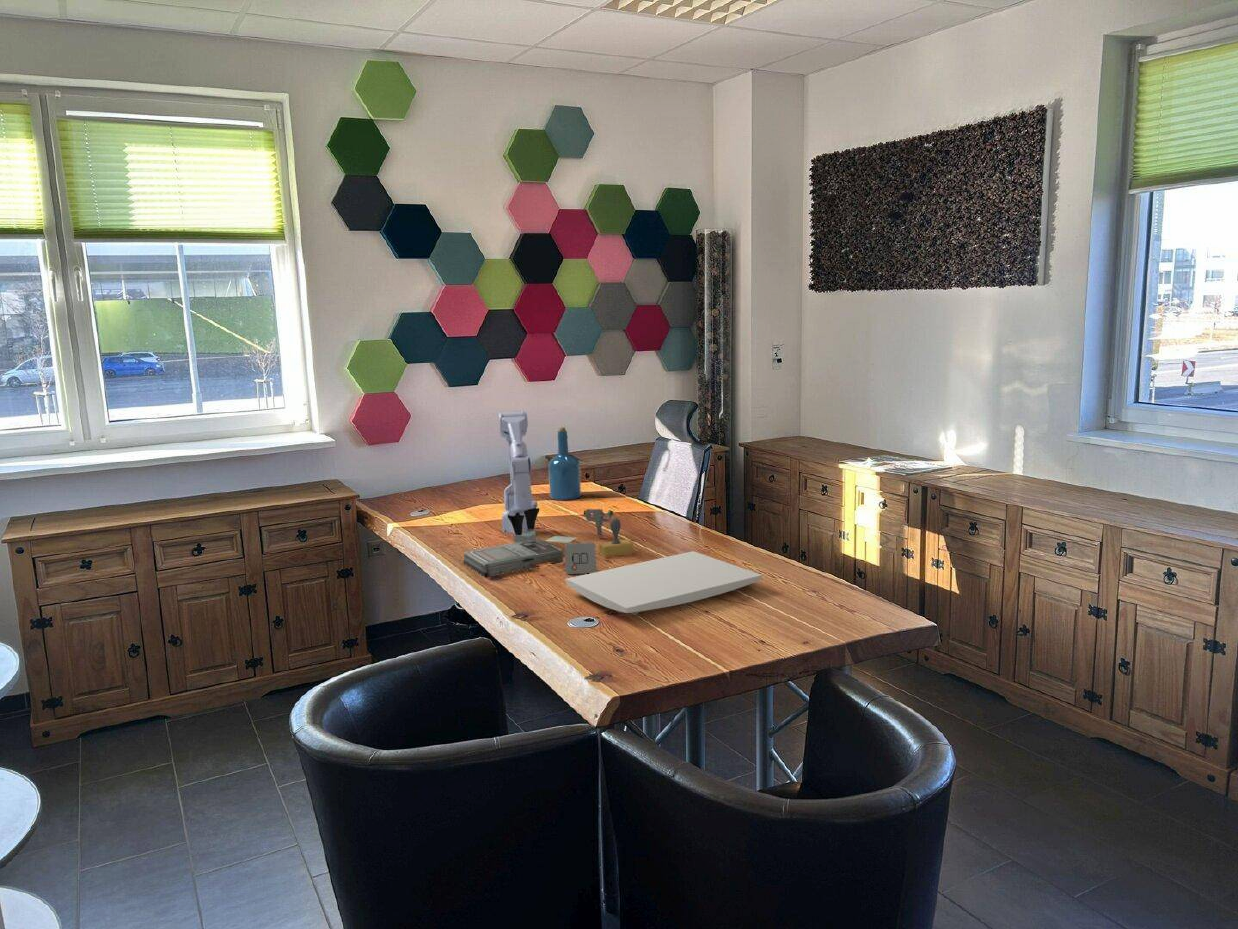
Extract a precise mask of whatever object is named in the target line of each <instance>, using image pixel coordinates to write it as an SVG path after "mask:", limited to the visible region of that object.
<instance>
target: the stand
mask: <svg viewBox="0 0 1238 929" xmlns="http://www.w3.org/2000/svg"><path fill="white" fill-rule="evenodd" d="M576 539H578V537H570V536H563V535H562V536H561V535H554V536H552V537H549V538H547V539H545V540H544V541H546V542H550V543H551V542H553V543H562V544H569V543H571V542H573V541H574V540H575V541H576Z"/></svg>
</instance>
